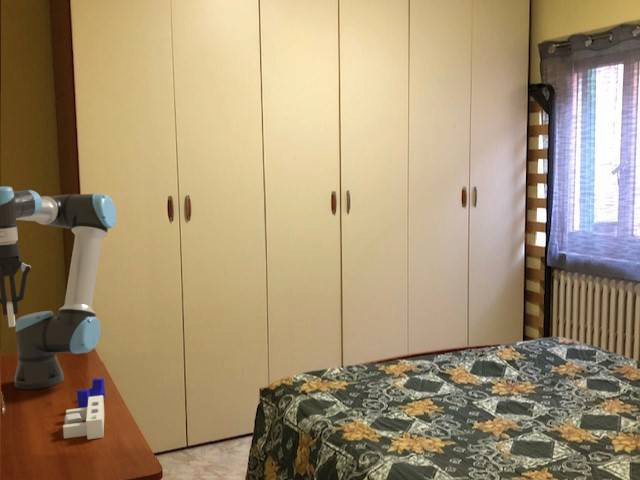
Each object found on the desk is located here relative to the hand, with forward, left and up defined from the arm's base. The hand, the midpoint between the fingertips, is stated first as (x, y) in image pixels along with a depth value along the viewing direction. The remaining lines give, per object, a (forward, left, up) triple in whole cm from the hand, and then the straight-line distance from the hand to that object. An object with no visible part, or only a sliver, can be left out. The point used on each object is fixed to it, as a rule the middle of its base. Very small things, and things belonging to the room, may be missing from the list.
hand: (12, 325), depth 201 cm
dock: (+14, +19, -27) cm, 36 cm away
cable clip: (-6, +19, -27) cm, 34 cm away
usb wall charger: (+14, +15, -27) cm, 34 cm away
